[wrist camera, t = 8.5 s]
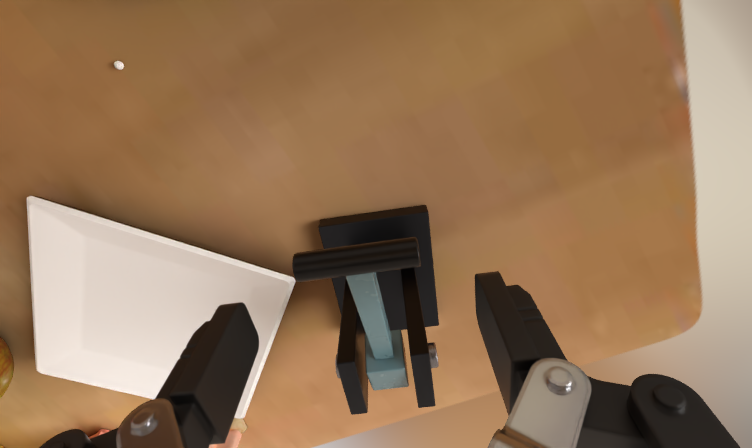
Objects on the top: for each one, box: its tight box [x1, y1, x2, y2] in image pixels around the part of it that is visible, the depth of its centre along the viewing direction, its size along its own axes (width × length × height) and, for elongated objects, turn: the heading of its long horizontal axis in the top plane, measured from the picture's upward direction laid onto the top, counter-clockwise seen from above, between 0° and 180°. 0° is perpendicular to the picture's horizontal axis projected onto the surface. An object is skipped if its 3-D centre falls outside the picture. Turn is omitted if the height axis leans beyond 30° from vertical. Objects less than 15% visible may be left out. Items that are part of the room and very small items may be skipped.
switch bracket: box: [318, 205, 439, 414], centre depth 25 cm, size 11×8×11 cm
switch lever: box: [292, 237, 421, 390], centre depth 19 cm, size 12×5×2 cm, turn 9°
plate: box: [27, 196, 296, 419], centre depth 31 cm, size 19×19×2 cm
